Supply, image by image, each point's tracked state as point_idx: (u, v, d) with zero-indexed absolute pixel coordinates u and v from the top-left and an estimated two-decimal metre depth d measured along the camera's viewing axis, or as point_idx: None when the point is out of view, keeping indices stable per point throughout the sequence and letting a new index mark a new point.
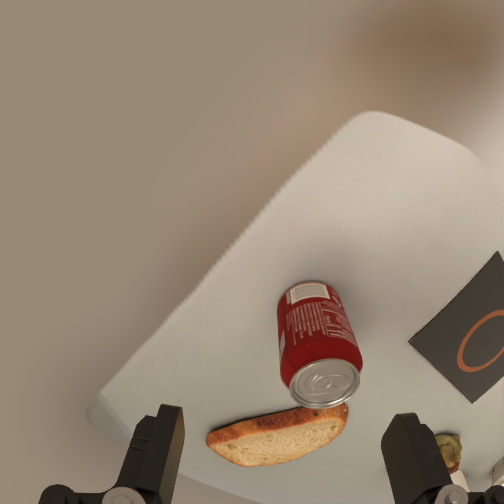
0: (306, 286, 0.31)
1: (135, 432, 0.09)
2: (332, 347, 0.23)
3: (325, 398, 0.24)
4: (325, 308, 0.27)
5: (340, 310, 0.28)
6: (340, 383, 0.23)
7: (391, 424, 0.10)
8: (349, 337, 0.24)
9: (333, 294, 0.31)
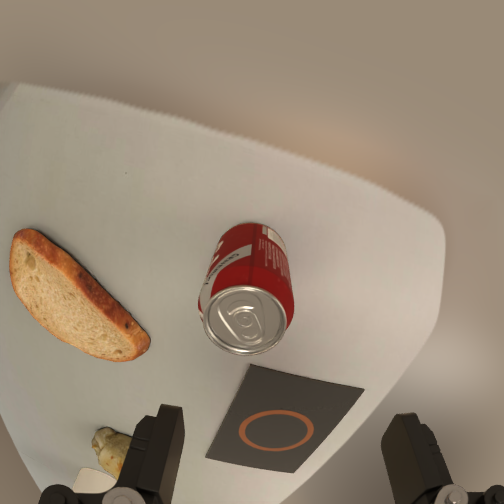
0: (281, 242, 0.30)
1: (135, 432, 0.09)
2: (288, 304, 0.22)
3: (221, 331, 0.22)
4: (289, 272, 0.26)
5: None
6: (248, 335, 0.22)
7: (391, 424, 0.10)
8: None
9: None
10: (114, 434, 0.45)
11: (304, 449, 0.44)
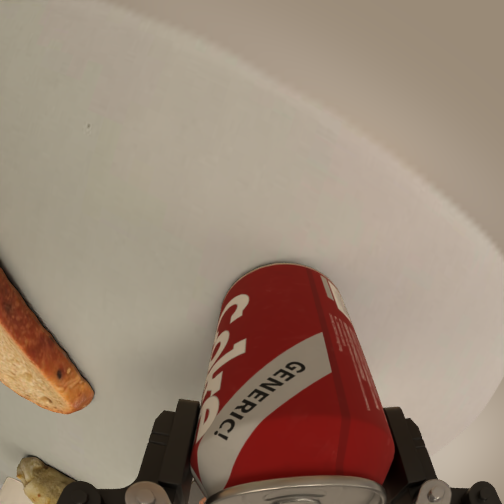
0: None
1: (154, 427, 0.09)
2: (385, 476, 0.08)
3: None
4: None
5: None
6: None
7: None
8: None
9: None
10: (44, 467, 0.29)
11: None
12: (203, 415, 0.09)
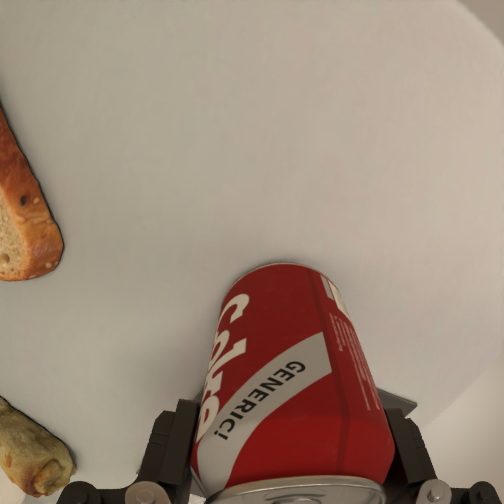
0: None
1: (154, 427, 0.09)
2: (385, 476, 0.08)
3: None
4: None
5: None
6: None
7: None
8: None
9: None
10: (8, 410, 0.24)
11: None
12: (203, 415, 0.09)
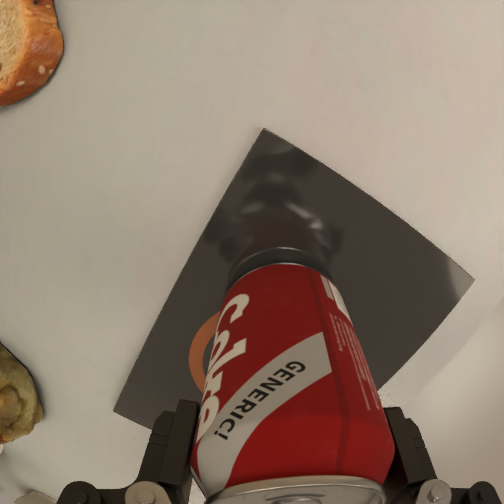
0: None
1: (154, 427, 0.09)
2: (385, 476, 0.08)
3: None
4: None
5: None
6: None
7: None
8: None
9: None
10: None
11: None
12: (203, 415, 0.09)
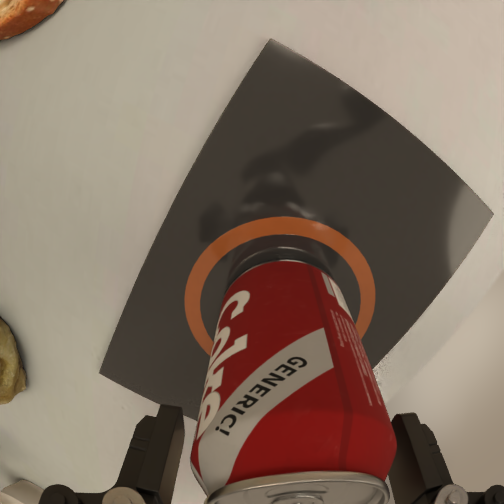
0: None
1: (135, 432, 0.09)
2: None
3: None
4: None
5: None
6: None
7: None
8: None
9: None
10: None
11: None
12: (204, 411, 0.09)
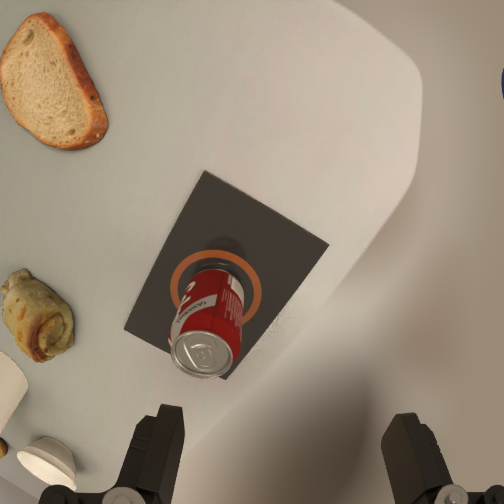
0: (241, 290, 0.36)
1: (135, 432, 0.09)
2: (236, 348, 0.28)
3: (183, 358, 0.28)
4: None
5: None
6: (202, 364, 0.28)
7: (391, 424, 0.10)
8: None
9: None
10: (30, 279, 0.38)
11: (245, 335, 0.41)
12: (174, 320, 0.29)
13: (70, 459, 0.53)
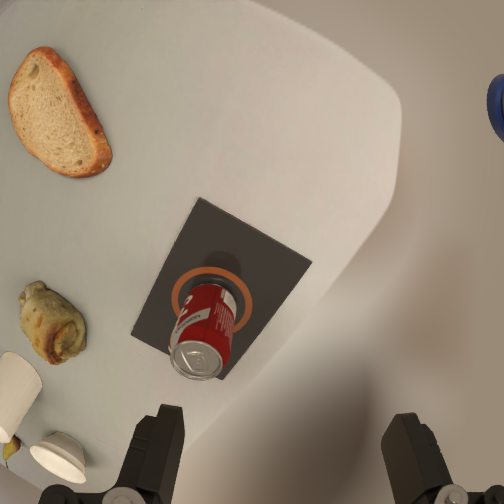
0: (233, 302, 0.41)
1: (135, 432, 0.09)
2: (225, 354, 0.33)
3: (181, 363, 0.33)
4: (233, 328, 0.38)
5: None
6: (197, 368, 0.33)
7: (391, 424, 0.10)
8: None
9: None
10: (44, 290, 0.43)
11: (238, 340, 0.45)
12: (173, 330, 0.34)
13: (80, 453, 0.59)
